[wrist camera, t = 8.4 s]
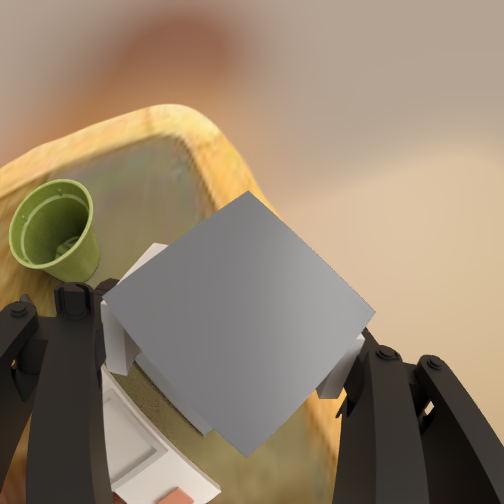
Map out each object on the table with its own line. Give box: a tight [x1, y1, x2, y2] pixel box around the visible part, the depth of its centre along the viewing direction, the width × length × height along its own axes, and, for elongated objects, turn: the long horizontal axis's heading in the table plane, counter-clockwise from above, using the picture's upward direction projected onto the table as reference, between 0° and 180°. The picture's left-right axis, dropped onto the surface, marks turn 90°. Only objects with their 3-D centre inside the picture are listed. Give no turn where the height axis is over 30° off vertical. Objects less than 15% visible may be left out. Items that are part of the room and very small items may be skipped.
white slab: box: [20, 294, 221, 504], centre depth 21 cm, size 28×8×3 cm, turn 45°
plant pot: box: [9, 179, 100, 283], centre depth 25 cm, size 9×9×9 cm
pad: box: [134, 352, 213, 436], centre depth 26 cm, size 10×10×1 cm
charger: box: [102, 191, 376, 458], centre depth 11 cm, size 5×5×10 cm
